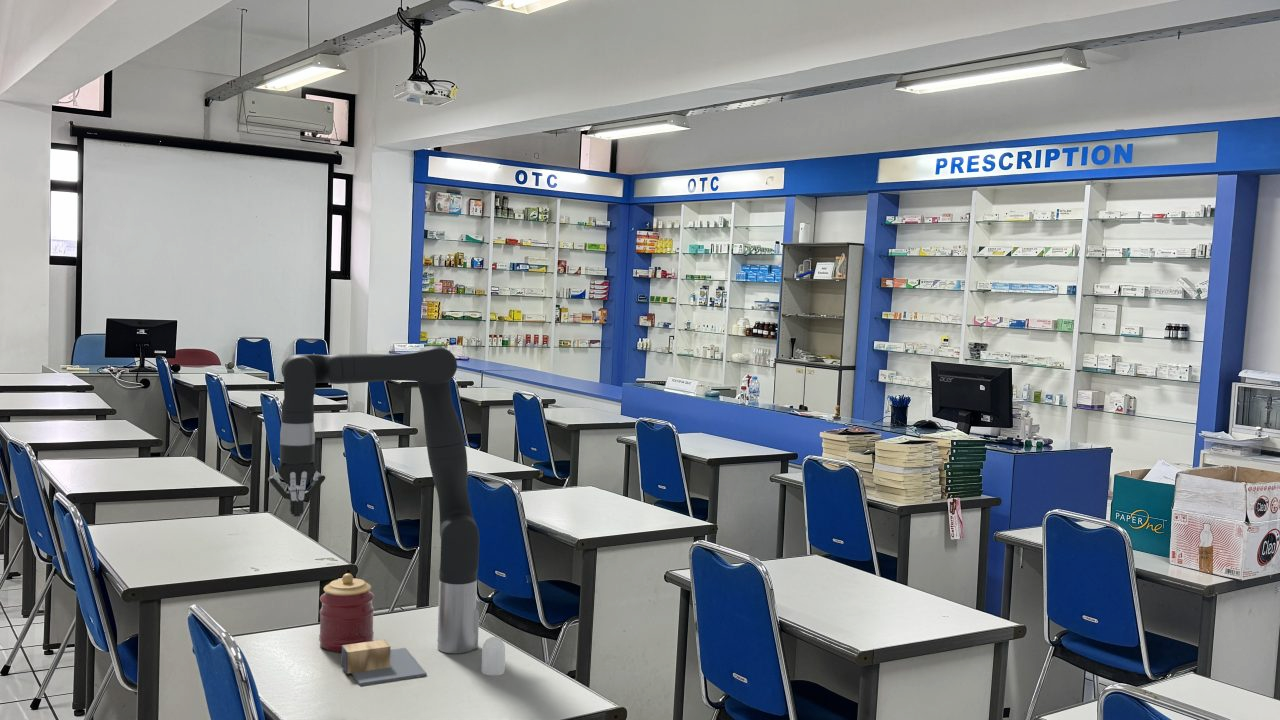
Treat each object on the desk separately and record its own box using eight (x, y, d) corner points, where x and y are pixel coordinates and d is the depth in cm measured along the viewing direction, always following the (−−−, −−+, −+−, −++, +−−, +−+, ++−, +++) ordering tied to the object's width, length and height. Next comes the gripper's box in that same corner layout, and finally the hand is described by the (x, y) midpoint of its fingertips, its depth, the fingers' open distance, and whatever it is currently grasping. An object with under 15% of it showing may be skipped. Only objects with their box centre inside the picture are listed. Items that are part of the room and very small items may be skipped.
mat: (405, 650, 249) (405, 647, 249) (426, 675, 233) (426, 673, 233) (342, 658, 241) (342, 656, 241) (359, 685, 226) (359, 683, 226)
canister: (376, 634, 259) (377, 566, 258) (369, 652, 246) (371, 581, 245) (323, 634, 257) (325, 566, 256) (314, 653, 244) (315, 581, 243)
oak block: (341, 666, 235) (384, 660, 240) (346, 673, 231) (390, 667, 235) (341, 645, 235) (384, 639, 239) (346, 652, 230) (390, 646, 235)
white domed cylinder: (508, 673, 236) (509, 639, 236) (486, 676, 234) (487, 642, 233) (499, 665, 241) (500, 632, 240) (478, 669, 238) (479, 635, 238)
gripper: (323, 438, 240) (322, 510, 241) (264, 440, 234) (263, 514, 235) (330, 443, 234) (329, 517, 235) (269, 445, 227) (268, 521, 228)
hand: (296, 515), depth 235 cm, fingers closed
